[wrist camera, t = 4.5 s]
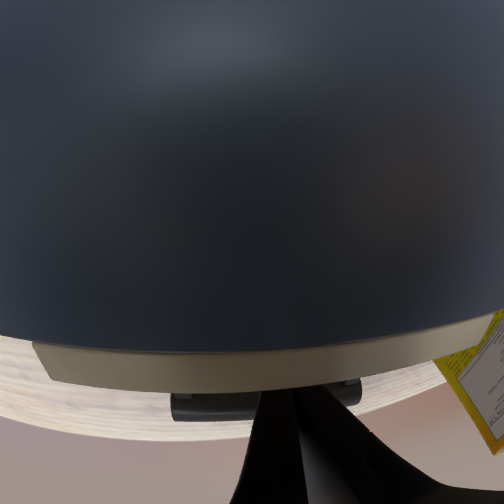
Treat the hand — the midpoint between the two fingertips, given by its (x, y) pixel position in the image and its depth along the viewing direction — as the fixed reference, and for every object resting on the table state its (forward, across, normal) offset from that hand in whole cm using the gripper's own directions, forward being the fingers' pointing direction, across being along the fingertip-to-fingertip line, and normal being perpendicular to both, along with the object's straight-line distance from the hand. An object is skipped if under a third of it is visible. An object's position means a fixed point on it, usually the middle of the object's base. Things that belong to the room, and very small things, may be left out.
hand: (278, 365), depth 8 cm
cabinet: (+6, 0, -11) cm, 12 cm away
